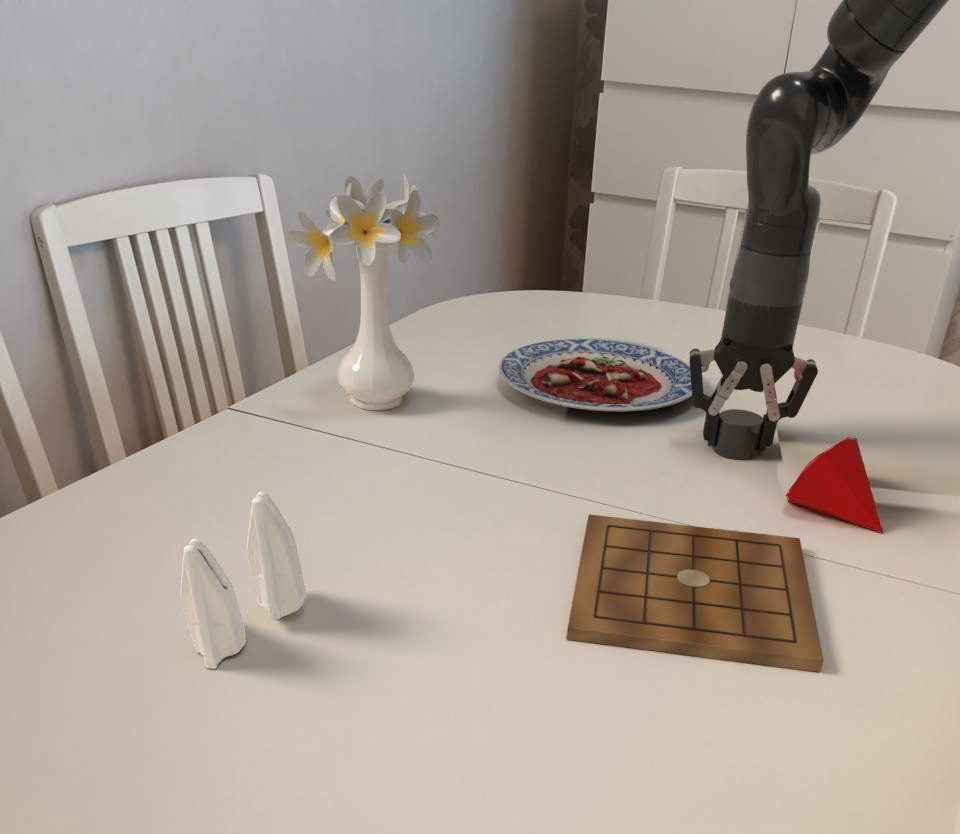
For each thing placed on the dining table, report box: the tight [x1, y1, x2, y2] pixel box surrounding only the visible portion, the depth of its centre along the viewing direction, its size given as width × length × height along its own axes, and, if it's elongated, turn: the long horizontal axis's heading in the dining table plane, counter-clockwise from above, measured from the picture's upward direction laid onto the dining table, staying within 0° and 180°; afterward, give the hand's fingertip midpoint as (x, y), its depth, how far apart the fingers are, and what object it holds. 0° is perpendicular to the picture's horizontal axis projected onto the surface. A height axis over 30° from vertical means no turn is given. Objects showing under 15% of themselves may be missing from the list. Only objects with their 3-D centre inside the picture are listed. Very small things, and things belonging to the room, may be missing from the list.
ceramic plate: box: [498, 338, 692, 412], centre depth 125 cm, size 26×26×3 cm
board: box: [566, 513, 824, 673], centre depth 85 cm, size 20×20×1 cm
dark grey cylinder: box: [712, 408, 764, 461], centre depth 109 cm, size 5×5×4 cm
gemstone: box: [785, 437, 885, 534], centre depth 97 cm, size 9×9×10 cm
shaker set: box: [179, 491, 307, 670], centre depth 75 cm, size 12×4×11 cm, turn 143°
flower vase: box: [285, 173, 441, 411], centre depth 111 cm, size 13×18×25 cm
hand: (736, 445), depth 110 cm, fingers closed on dark grey cylinder, 5 cm apart
